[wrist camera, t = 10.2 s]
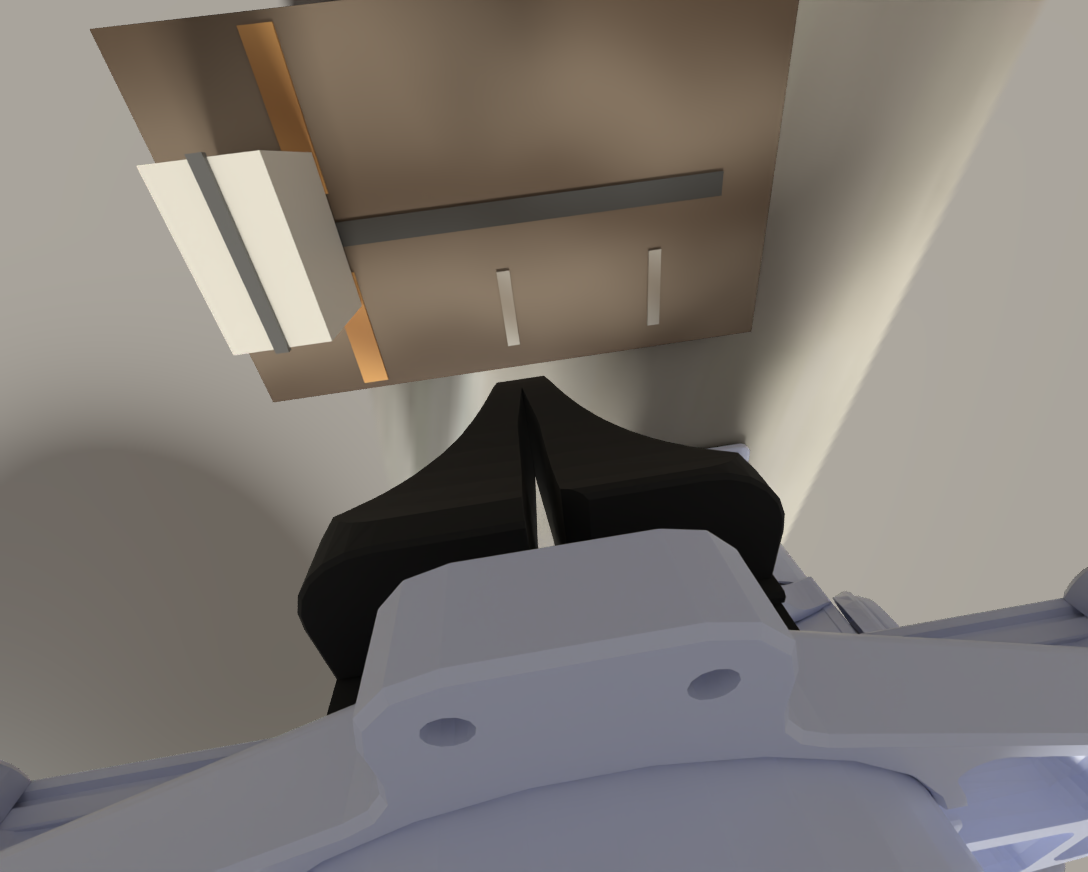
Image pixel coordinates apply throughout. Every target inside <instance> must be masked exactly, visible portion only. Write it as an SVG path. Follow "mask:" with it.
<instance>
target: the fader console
mask: <svg viewBox="0 0 1088 872" xmlns="http://www.w3.org/2000/svg"><path fill="white" fill-rule="evenodd" d="M798 4H799V0H339V1H330V2H321V3H313V4H304V5H295V6H286V7H278V8H269V9H260V10H252V11H243V12H234V13H226V14H217V15H208V16H199V17H191V18H182V19H173V20H164V21H156V22H147V23H139V24H130V25H121V26H113V27H103V28H95V29H90V31H91V33H92V35H93V37H94V39H95V41H96V43H97V45H98V47H99V49H100V51H101V53H102V55H103V57H104V59H105V62H106V63H107V66H108V68H109V70H110V72H111V74H112V76H113V78H114V80H115V82H116V84H117V86H118V88H119V90H120V92H121V94H122V96H123V98H124V100H125V102H126V104H127V106H128V108H129V110H130V112H131V114H132V116H133V118H134V120H135V122H136V124H137V127H138V128H139V131H140V133H141V135H142V137H143V139H144V141H145V143H146V145H147V147H148V148H149V151H150V153H151V155H152V157H153V159H154V161H155V163H162V162H170V161H178V160H186V157H185V155H184V154H190V153H198V152H205V153H206V155H207V157H210V156H218V155H225V154H233V153H241V152H249V151H257V150H266V151H290V152H312V155H313V158H314V161H315V164H316V167H317V170H318V173H319V176H320V179H321V182H322V185H323V188H324V192H325V195H326V198H327V201H328V204H329V207H330V210H331V213H332V216H333V219H334V222H335V225H336V228H337V231H338V234H339V237H340V240H341V243H342V246H343V249H344V252H345V255H346V258H347V261H348V265H349V268H350V271H351V274H352V277H353V280H354V283H355V286H356V289H357V292H358V295H359V298H360V301H361V304H362V306H361V307H360V308H359V310H358V311H357V312H356V313H355V314H354V316H353V317H352V318H351V319H350V320H349V322H348V323H347V324H346V325H345V326H344V328H343V329H342V330H341V331H340V332H339V334H338V335H337V336H336V337H335V338H334V340H333V341H330V342H323V343H316V344H309V345H302V346H295V347H291V351H290V352H287V353H280V354H276V353H275V351H274V350H268V351H261V352H254V353H249V354H250V356H251V358H252V360H253V362H254V364H255V366H256V368H257V370H258V372H259V374H260V376H261V378H262V380H263V382H264V384H265V386H266V388H267V390H268V392H269V394H270V396H271V398H272V400H273V402H279V401H285V400H292V399H299V398H306V397H312V396H320V395H326V394H333V393H340V392H347V391H353V390H359V389H367V388H373V387H380V386H387V385H394V384H400V383H407V382H414V381H421V380H427V379H434V378H441V377H448V376H454V375H461V374H468V373H474V372H481V371H488V370H495V369H501V368H508V367H515V366H522V365H528V364H535V363H542V362H549V361H555V360H562V359H569V358H576V357H582V356H589V355H596V354H602V353H609V352H616V351H623V350H629V349H636V348H643V347H650V346H656V345H663V344H670V343H677V342H683V341H690V340H697V339H704V338H710V337H717V336H724V335H730V334H737V333H744V332H751V329H752V322H753V315H754V309H755V302H756V295H757V288H758V281H759V274H760V267H761V260H762V253H763V246H764V239H765V232H766V225H767V218H768V212H769V205H770V198H771V191H772V184H773V177H774V170H775V163H776V156H777V149H778V142H779V135H780V128H781V121H782V114H783V108H784V101H785V94H786V87H787V80H788V73H789V66H790V59H791V52H792V45H793V38H794V31H795V24H796V17H797V10H798Z"/></svg>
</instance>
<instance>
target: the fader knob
mask: <svg viewBox="0 0 1088 872" xmlns="http://www.w3.org/2000/svg"><path fill="white" fill-rule="evenodd" d="M184 155H185V157H186V160H178V161H170V162H162V163H155V164H147V165H139V166H137V168H138V170H139V172H140V174H141V176H142V178H143V180H144V182H145V184H146V186H147V188H148V190H149V192H150V194H151V196H152V198H153V199H154V201H155V203H156V205H157V207H158V209H159V211H160V213H161V215H162V217H163V219H164V221H165V223H166V225H167V227H168V229H169V231H170V233H171V235H172V236H173V238H174V240H175V242H176V244H177V246H178V248H179V250H180V252H181V254H182V256H183V258H184V260H185V262H186V264H187V266H188V268H189V270H190V272H191V273H192V275H193V277H194V279H195V281H196V283H197V285H198V287H199V289H200V291H201V293H202V295H203V297H204V299H205V301H206V302H207V304H208V306H209V308H210V310H211V312H212V314H213V316H214V318H215V320H216V322H217V324H218V326H219V328H220V330H221V332H222V334H223V336H224V338H225V340H226V341H227V343H228V345H229V347H230V349H231V351H232V353H233V355H239V354H247V353H254V352H261V351H268V350H274V351H275V353H276V354H280V353H287V352H290V351H291V347H295V346H302V345H309V344H316V343H323V342H330V341H333V340H334V338H335V337H336V336H337V335H338V334H339V332H340V331H341V330H342V329H343V328H344V326H345V325H346V324H347V323H348V322H349V320H350V319H351V318H352V317H353V316H354V314H355V313H356V312H357V311H358V310H359V308H360V307H361V306H362V304H361V301H360V298H359V295H358V292H357V289H356V286H355V283H354V280H353V277H352V274H351V271H350V268H349V265H348V261H347V258H346V255H345V252H344V249H343V246H342V243H341V240H340V237H339V234H338V231H337V228H336V225H335V222H334V219H333V216H332V213H331V210H330V207H329V204H328V201H327V198H326V195H325V192H324V188H323V185H322V182H321V179H320V176H319V173H318V170H317V167H316V164H315V161H314V158H313V155H312V152H290V151H266V150H257V151H249V152H241V153H233V154H225V155H218V156H210V157H207V155H206V153H205V152H198V153H190V154H184Z"/></svg>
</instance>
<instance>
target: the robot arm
mask: <svg viewBox="0 0 1088 872" xmlns="http://www.w3.org/2000/svg"><path fill="white" fill-rule="evenodd" d="M749 455H750V449H749V448H748V447H747V446H746V445H745V444H734V445H727V446H721V447H715V448H708V449H704V448H695V447H689V446H684V445H680V444H675V443H670V442H665V441H662V440H658V439H654V438H650V437H647V436H644V435H641V434H638V433H635V432H632V431H629V430H627V429H624V428H621V427H619V426H617V425H615V424H613V423H611V422H608V421H606V420H604V419H602V418H600V417H598V416H596V415H595V414H593V413H591V412H590V411H588V410H586V409H585V408H583V407H582V406H580V405H579V404H577V403H576V402H575V401H573V400H572V399H571V398H569V397H568V396H567V395H565V394H564V393H563V392H562V391H561V390H560V389H558V388H557V387H556V386H555V385H554V384H553V383H552V382H551V381H550V380H548V379H547V378H546V377H545V376H539V377H533V378H526V379H519V380H513V381H506V382H499V383H496V385H495V386H494V387H493V389H492V391H491V393H490V395H489V396H488V398H487V400H486V401H485V403H484V405H483V406H482V408H481V409H480V411H479V412H478V414H477V415H476V417H475V418H474V420H473V421H472V422H471V424H470V425H469V426H468V427H467V429H466V430H465V431H464V432H463V434H462V435H461V436H460V437H459V438H458V439H457V440H456V441H455V442H454V443H453V444H452V445H451V446H450V447H449V448H448V449H447V450H446V451H445V452H444V453H442V454H441V455H440V456H439V457H438V458H436V459H435V460H434V461H432V462H431V463H430V464H428V465H427V466H426V467H424V468H423V469H422V470H421V471H419V472H418V473H417V474H415V475H414V476H412V477H410V478H409V479H407V480H406V481H404V482H403V483H401V484H399V485H398V486H396V487H394V488H392V489H391V490H389V491H387V492H385V493H384V494H382V495H380V496H378V497H376V498H374V499H372V500H370V501H368V502H366V503H363V504H361V505H359V506H357V507H355V508H353V509H351V510H349V511H346V512H344V513H342V514H340V515H337V516H335V517H333V519H332V521H331V523H330V524H329V527H328V529H327V530H326V532H325V534H324V536H323V538H322V540H321V542H320V545H319V547H318V549H317V552H316V554H315V557H314V559H313V561H312V564H311V566H310V568H309V571H308V573H307V576H306V578H305V581H304V583H303V585H302V588H301V590H300V592H299V595H298V615H299V618H300V620H301V622H302V625H303V627H304V630H305V631H306V633H307V634H308V636H309V637H310V639H311V640H312V642H313V643H314V645H315V646H316V648H317V649H318V651H319V653H320V654H321V656H322V657H323V659H324V660H325V662H326V663H327V665H328V666H329V668H330V669H331V671H332V672H333V674H334V676H335V677H336V679H337V681H336V685H335V688H334V691H333V695H332V698H331V702H330V706H329V709H328V713H327V716H325V717H323V718H320V719H317V720H315V721H313V722H310V723H308V724H305V725H303V726H301V727H298V728H296V729H293V730H291V731H288V732H286V733H284V734H281V735H279V736H277V737H274V738H269V739H263V740H258V741H252V742H247V743H241V744H235V745H230V746H224V747H219V748H213V749H207V750H201V751H196V752H190V753H184V754H178V755H173V756H167V757H161V758H156V759H151V760H145V761H139V762H133V763H128V764H122V765H116V766H111V767H105V768H100V769H94V770H88V771H83V772H77V773H71V774H66V775H60V776H55V777H49V778H43V779H37V780H32V781H30V779H29V777H28V775H26V774H25V773H24V772H23V771H21V770H20V769H19V768H17V767H16V766H14V765H12V764H10V763H8V762H5V761H3V760H0V872H1065V862H1069V861H1072V860H1076V859H1080V858H1083V857H1087V856H1088V567H1087V568H1085V569H1083V570H1082V571H1081V572H1080V573H1079V574H1078V575H1077V576H1076V577H1075V578H1074V579H1073V580H1072V581H1071V583H1070V584H1069V586H1068V587H1067V589H1066V590H1065V592H1064V598H1060V599H1054V600H1048V601H1043V602H1037V603H1031V604H1026V605H1020V606H1015V607H1009V608H1003V609H997V610H992V611H987V612H981V613H975V614H970V615H964V616H958V617H953V618H947V619H941V620H936V621H930V622H924V623H918V624H913V625H907V626H902V627H899V626H898V625H897V624H896V622H895V621H894V620H893V619H892V618H891V617H890V616H889V615H888V614H887V613H886V612H885V611H884V610H883V609H882V608H881V607H880V606H878V605H877V604H876V603H875V602H874V601H872V600H870V599H868V598H864V597H860V596H854V595H853V594H852V593H850V592H847V591H843V592H841V593H840V594H838V595H836V596H835V597H833V600H834V601H835V603H836V604H837V606H838V608H839V609H840V610H841V612H842V614H843V615H844V616H845V618H846V619H847V620H846V619H845V618H844V617H843V616H842V614H841V613H840V612H839V611H838V610H837V609H836V607H835V606H834V605H833V604H832V603H831V601H830V600H829V599H828V597H827V596H826V595H825V594H824V592H823V591H822V590H821V588H820V587H819V586H818V585H817V583H816V582H815V581H814V580H813V578H812V577H806V575H805V574H804V573H803V571H802V570H801V569H800V568H799V566H798V565H797V564H796V562H795V561H794V560H793V559H792V557H791V556H790V555H789V553H788V552H787V551H786V550H785V548H784V547H783V546H782V544H781V543H780V542H781V538H782V534H783V530H784V516H785V513H784V510H783V507H782V504H781V501H780V498H779V497H778V496H777V495H776V494H775V493H774V491H773V490H772V489H771V488H770V487H769V486H768V484H767V483H766V482H765V480H764V479H763V478H762V477H761V476H760V475H759V473H758V472H757V471H756V470H755V469H754V468H753V467H752V466H751V465H750V464H749V463H748V461H749ZM535 477H536V480H537V484H538V487H539V491H540V494H541V498H542V501H543V505H544V508H545V512H546V515H547V519H548V522H549V526H550V529H551V532H552V536H553V539H554V543H555V546H550V547H544V548H538V539H537V512H536V485H535ZM847 621H848V622H849V623H848V622H847Z"/></svg>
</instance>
